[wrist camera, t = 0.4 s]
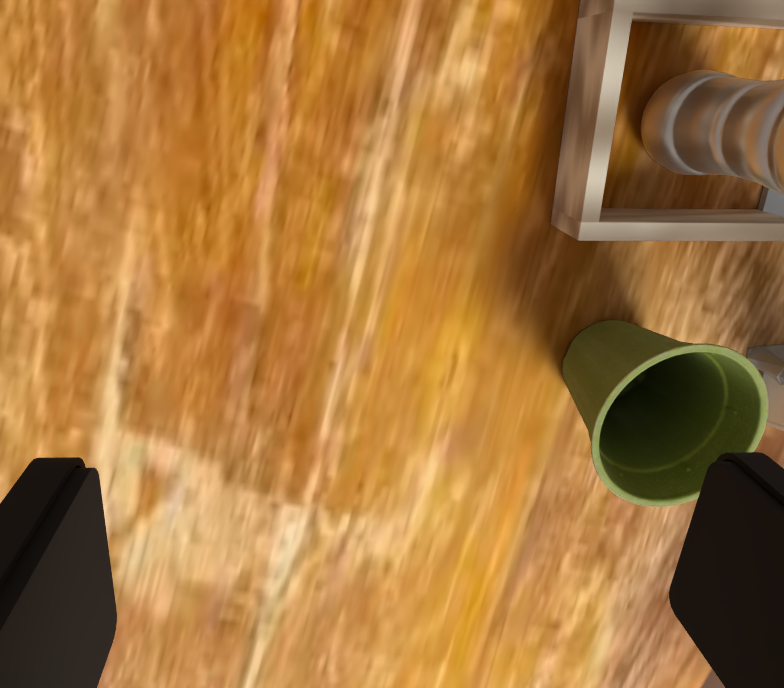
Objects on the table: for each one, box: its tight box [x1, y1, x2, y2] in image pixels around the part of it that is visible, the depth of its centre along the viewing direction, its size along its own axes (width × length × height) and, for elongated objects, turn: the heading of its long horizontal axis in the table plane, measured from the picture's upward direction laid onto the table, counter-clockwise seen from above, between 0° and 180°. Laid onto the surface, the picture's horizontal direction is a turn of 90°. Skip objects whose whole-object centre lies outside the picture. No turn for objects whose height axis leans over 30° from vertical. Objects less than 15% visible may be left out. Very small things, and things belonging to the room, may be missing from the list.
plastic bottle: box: [641, 69, 784, 195], centre depth 34 cm, size 6×7×20 cm
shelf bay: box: [551, 0, 784, 241], centre depth 41 cm, size 14×16×5 cm
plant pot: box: [562, 320, 769, 507], centre depth 44 cm, size 12×12×11 cm
